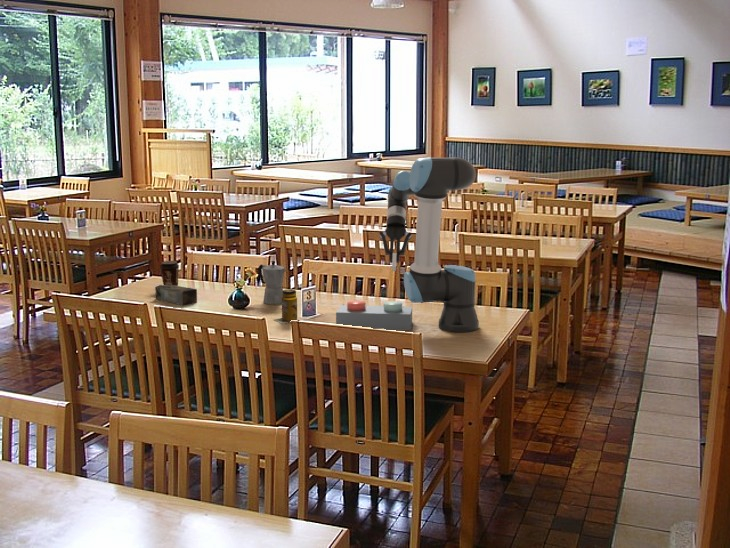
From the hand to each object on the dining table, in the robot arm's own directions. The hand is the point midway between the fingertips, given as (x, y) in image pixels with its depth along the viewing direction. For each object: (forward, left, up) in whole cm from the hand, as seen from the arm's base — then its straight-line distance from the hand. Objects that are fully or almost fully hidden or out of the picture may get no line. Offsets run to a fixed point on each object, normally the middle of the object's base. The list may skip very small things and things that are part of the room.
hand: (394, 268), depth 317 cm
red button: (+3, +16, -20) cm, 26 cm away
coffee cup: (+101, +52, -21) cm, 115 cm away
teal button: (-7, +5, -20) cm, 22 cm away
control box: (-2, +11, -20) cm, 23 cm away
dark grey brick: (+79, +58, -21) cm, 100 cm away
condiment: (+23, +35, -21) cm, 46 cm away
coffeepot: (+54, +25, -21) cm, 63 cm away
